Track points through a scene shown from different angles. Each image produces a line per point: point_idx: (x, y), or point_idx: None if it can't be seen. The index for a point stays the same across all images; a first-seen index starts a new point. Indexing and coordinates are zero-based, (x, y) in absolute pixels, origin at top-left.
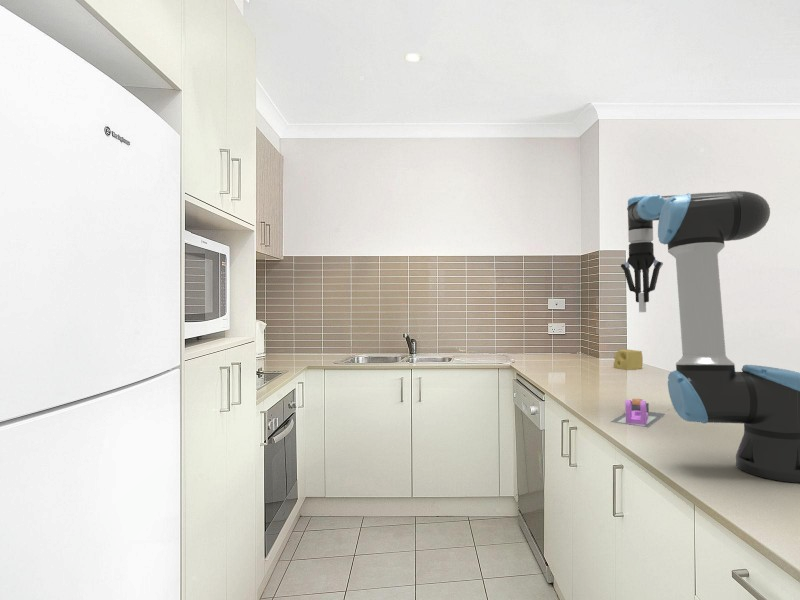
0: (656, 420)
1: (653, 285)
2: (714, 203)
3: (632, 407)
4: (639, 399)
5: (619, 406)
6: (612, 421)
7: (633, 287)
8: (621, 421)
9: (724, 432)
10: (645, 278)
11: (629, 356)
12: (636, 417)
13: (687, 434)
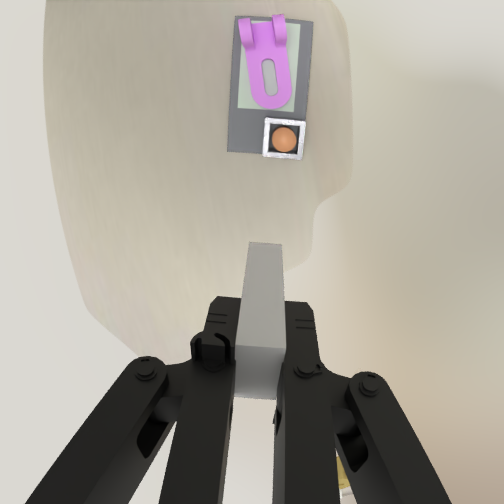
0: (232, 79)
1: (107, 395)
2: None
3: (291, 119)
4: (279, 142)
5: (331, 188)
6: (310, 26)
7: (347, 439)
8: (293, 31)
9: (116, 73)
10: (178, 500)
11: (339, 473)
12: (264, 40)
13: (165, 19)
